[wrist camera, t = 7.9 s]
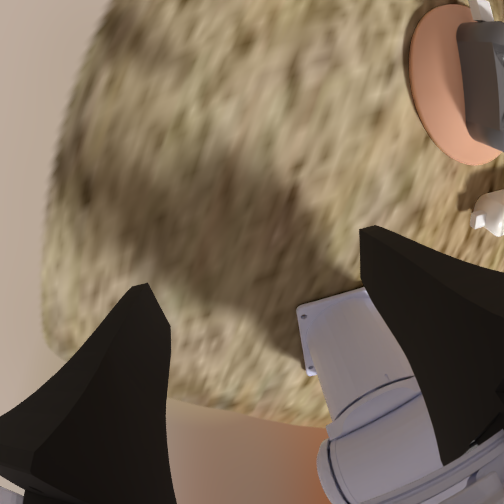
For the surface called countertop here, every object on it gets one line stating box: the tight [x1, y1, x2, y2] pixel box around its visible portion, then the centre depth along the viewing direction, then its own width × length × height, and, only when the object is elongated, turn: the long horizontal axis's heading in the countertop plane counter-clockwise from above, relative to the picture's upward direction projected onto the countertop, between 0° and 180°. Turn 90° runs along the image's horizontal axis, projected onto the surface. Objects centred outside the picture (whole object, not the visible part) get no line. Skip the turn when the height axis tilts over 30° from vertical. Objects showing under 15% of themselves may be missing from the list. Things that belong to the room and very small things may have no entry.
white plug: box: [470, 189, 504, 237], centre depth 20 cm, size 9×3×3 cm, turn 102°
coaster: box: [409, 4, 502, 165], centre depth 15 cm, size 13×13×1 cm
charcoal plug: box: [456, 0, 504, 152], centre depth 12 cm, size 11×4×4 cm, turn 13°
